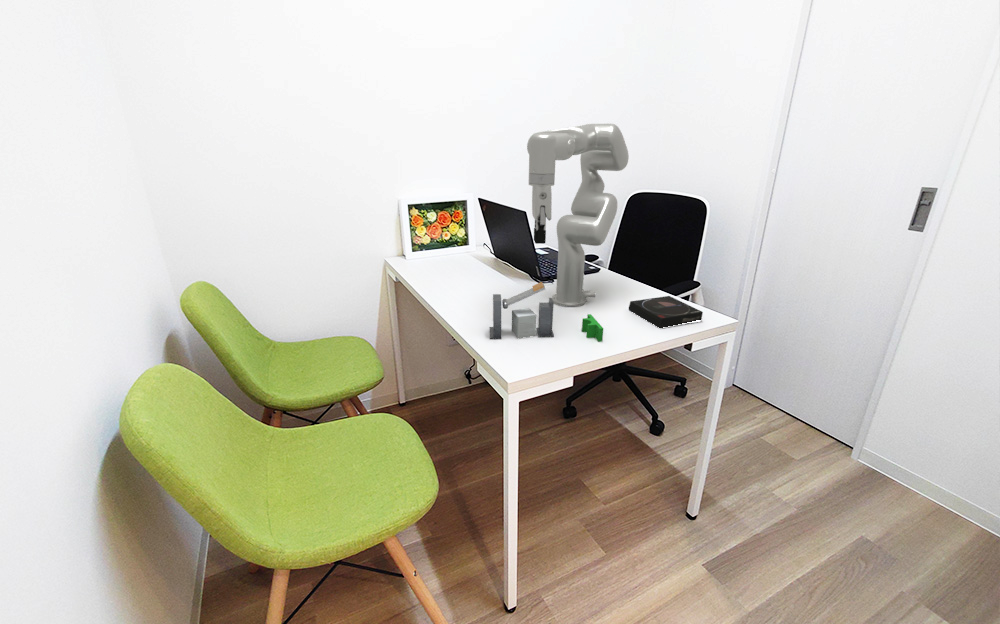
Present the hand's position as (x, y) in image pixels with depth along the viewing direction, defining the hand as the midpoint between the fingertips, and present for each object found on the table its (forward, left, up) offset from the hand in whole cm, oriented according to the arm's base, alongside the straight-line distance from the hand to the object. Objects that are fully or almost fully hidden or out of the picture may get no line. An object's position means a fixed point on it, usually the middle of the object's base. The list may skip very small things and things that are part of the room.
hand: (539, 241), depth 136 cm
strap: (+5, +8, -15) cm, 18 cm away
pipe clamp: (-16, +9, -28) cm, 33 cm away
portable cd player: (-44, -5, -28) cm, 52 cm away
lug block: (-1, +8, -27) cm, 28 cm away
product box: (+5, +8, -27) cm, 29 cm away
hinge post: (+13, +8, -27) cm, 31 cm away
